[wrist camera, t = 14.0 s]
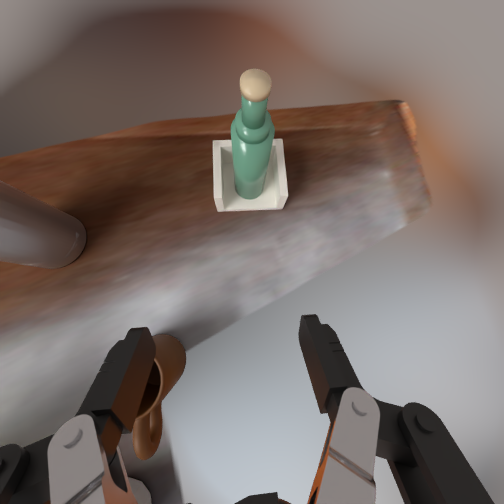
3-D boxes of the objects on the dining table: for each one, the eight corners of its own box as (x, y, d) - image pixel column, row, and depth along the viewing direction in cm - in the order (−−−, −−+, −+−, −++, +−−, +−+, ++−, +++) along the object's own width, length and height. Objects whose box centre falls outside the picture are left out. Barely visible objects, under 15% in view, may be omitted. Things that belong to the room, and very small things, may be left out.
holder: (282, 209, 38) (288, 195, 33) (217, 211, 37) (213, 198, 33) (277, 158, 40) (282, 138, 35) (216, 160, 40) (212, 140, 35)
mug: (198, 412, 31) (179, 460, 22) (144, 429, 30) (100, 486, 21) (182, 327, 33) (159, 337, 24) (132, 340, 32) (88, 356, 23)
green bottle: (230, 194, 38) (219, 95, 19) (239, 169, 39) (237, 52, 20) (259, 203, 37) (275, 111, 19) (267, 177, 39) (289, 67, 20)
